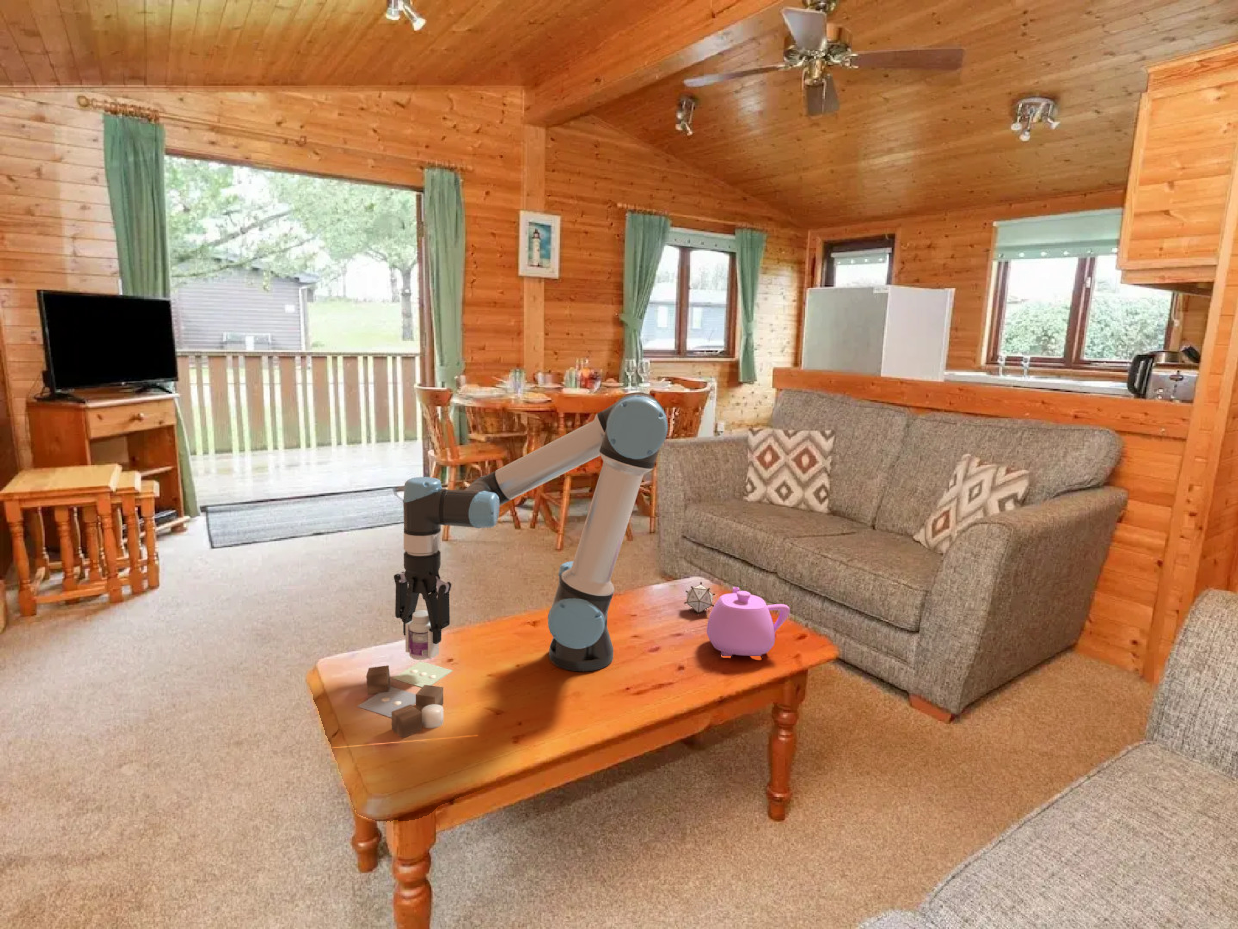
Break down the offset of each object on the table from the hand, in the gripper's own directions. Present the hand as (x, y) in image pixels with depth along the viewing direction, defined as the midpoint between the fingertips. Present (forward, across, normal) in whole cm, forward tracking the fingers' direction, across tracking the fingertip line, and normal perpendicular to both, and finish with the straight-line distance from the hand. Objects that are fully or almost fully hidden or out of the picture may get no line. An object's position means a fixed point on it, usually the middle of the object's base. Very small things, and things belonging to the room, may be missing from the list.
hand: (422, 652), depth 150 cm
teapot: (+5, -59, -50) cm, 78 cm away
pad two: (+5, -2, +12) cm, 13 cm away
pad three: (+5, 0, 0) cm, 5 cm away
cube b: (+3, -10, +18) cm, 20 cm away
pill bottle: (+1, 0, 0) cm, 1 cm away
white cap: (+5, -14, +14) cm, 21 cm away
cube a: (+5, -10, +10) cm, 15 cm away
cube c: (+5, +4, +9) cm, 11 cm away
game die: (+5, -42, -66) cm, 79 cm away
